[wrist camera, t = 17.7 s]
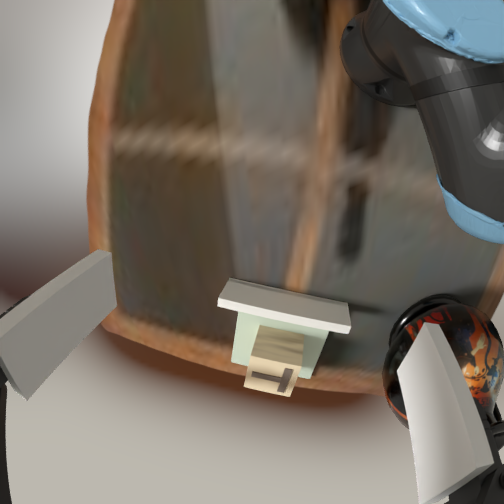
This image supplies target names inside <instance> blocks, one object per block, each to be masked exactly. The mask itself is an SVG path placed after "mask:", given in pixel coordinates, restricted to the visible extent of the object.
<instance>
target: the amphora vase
mask: <svg viewBox="0 0 504 504" xmlns="http://www.w3.org/2000/svg"><path fill="white" fill-rule="evenodd" d="M424 322H426V323H433V324H439V326H440V328H441V330H442V331H443V333H444V335H445V337H446V339H447V341H448V343H449V345H450V347H451V349H452V352H453V354H454V356H455V358H456V360H457V362H458V364H459V367H460V369H461V371H462V373H463V375H464V378H465V380H466V382H467V385H468V387H469V390H470V392H471V395H472V397H476V398H477V400H478V401H479V402H480V404H481V405H482V406H483V408H484V411H485V413H486V416H487V421H488V422H489V424H490V430H492V433H493V436H494V439H495V443H496V446H497V449H498V451H499V450H500V449H501V448H502V447H503V446H504V420H502V418H501V414H500V412H499V409H498V407H497V404H496V399H497V396H498V393H499V390H500V387H501V384H502V381H503V378H504V351H503V345H502V341H501V339H500V336H499V334H498V331H497V329H496V328H495V326H494V324H493V323H492V321H491V320H490V319H489V318H488V316H487V315H486V314H485V313H483V312H482V311H480V310H479V309H477V308H475V307H473V306H470V305H465V304H461V303H460V302H459V301H458V300H456V299H455V298H453V297H450V296H445V295H439V296H431V297H429V298H426V299H423V300H421V301H419V302H417V303H416V304H414V305H412V306H411V307H410V308H408V309H407V310H406V311H405V312H404V313H403V314H402V315H401V316H400V317H399V319H398V320H397V321H396V323H395V324H394V326H393V328H392V331H391V333H390V338H389V350H388V352H387V354H386V358H385V362H384V367H383V372H382V378H383V386H384V393H385V397H386V399H387V402H388V404H389V407H390V408H391V410H392V411H393V413H394V414H395V415H396V417H397V418H398V420H399V421H400V422H401V423H402V424H403V425H404V426H405V427H406V428H408V429H409V424H408V419H407V414H406V409H405V404H404V399H403V395H402V390H401V386H400V382H399V378H398V374H397V370H398V368H399V366H400V365H401V363H402V362H403V360H404V358H405V357H406V355H407V353H408V351H409V350H410V348H411V346H412V344H413V343H414V341H415V339H416V337H417V335H418V334H419V332H420V330H421V328H422V326H423V324H424Z"/></svg>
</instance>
